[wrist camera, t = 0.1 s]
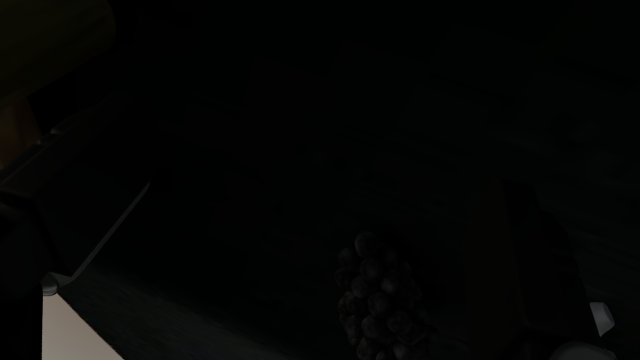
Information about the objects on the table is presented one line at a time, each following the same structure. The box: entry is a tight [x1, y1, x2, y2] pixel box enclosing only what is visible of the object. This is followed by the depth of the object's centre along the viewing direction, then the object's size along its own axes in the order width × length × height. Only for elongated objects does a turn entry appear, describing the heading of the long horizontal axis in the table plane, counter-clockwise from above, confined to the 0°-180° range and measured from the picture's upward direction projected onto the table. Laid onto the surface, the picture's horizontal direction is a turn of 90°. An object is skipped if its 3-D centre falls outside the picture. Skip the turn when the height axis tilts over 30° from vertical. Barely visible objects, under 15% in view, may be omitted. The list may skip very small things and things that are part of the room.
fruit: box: [334, 231, 439, 360], centre depth 36 cm, size 9×8×15 cm
